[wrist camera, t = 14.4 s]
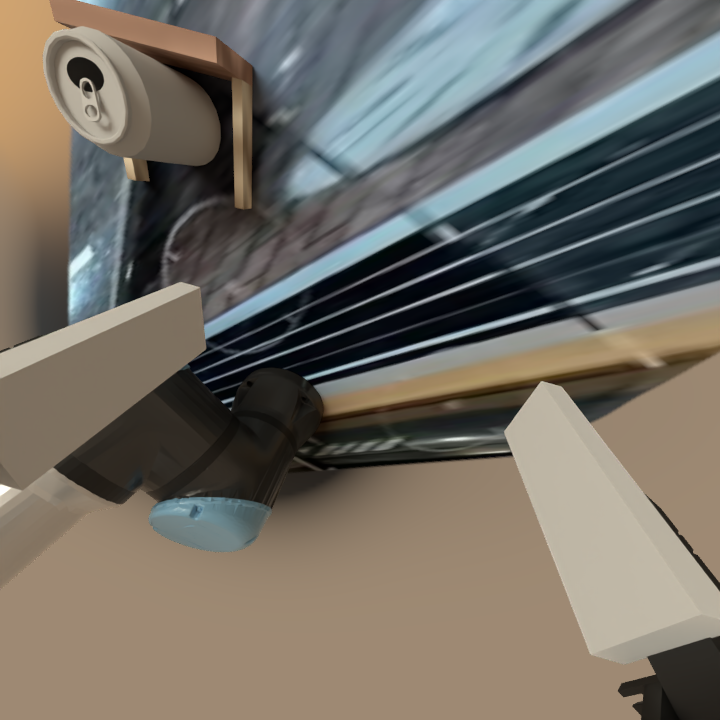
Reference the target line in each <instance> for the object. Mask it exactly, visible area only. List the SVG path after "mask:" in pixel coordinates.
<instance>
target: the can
mask: <svg viewBox="0 0 720 720" xmlns="http://www.w3.org/2000/svg"><path fill="white" fill-rule="evenodd" d="M43 66H44V75H45V78H46V82H47V85H48V89H49V91H50V93H51V95H52V97H53V99H54V101H55V103H56V105H57V107H58V109H59V110H60V112H61V113H62V114H63V116H64V117H65V119H66V120H67V122H68V123H69V124H70V125H71V126H72V127H73V128H74V129H75V130H76V131H77V132H78V133H79V134H80V135H82V136H83V137H85V138H86V139H88V140H90V141H91V142H93V143H95V144H96V145H97V146H99V147H100V148H102V149H104V150H105V151H107V152H108V153H110V154H113V155H117V156H121V157H125V158H134V159H142V160H150V161H159V162H167V163H175V164H184V165H192V166H200V165H205V164H207V163H208V162H210V161H211V160H213V158H214V157H215V155H216V153H217V152H218V149H219V145H220V140H221V130H220V122H219V118H218V115H217V111H216V109H215V107H214V105H213V103H212V101H211V99H210V97H209V95H208V94H207V93H206V92H205V91H204V89H203V88H202V87H201V86H200V85H199V84H198V83H196V82H195V81H194V80H192V79H191V78H189V77H188V76H186V75H184V74H182V73H180V72H178V71H176V70H174V69H172V68H170V67H168V66H166V65H164V64H162V63H161V62H159V61H157V60H155V59H153V58H151V57H149V56H147V55H145V54H143V53H141V52H139V51H137V50H135V49H133V48H132V47H130V46H128V45H126V44H124V43H122V42H120V41H118V40H116V39H114V38H112V37H110V36H108V35H106V34H104V33H103V32H101V31H99V30H95V29H92V28H88V27H84V26H80V27H77V28H73V29H70V30H67V29H63V30H60V31H56V32H54V33H53V34H52V35H51V36H50V37H49V39H48V40H47V41H46V44H45V48H44V53H43Z"/></svg>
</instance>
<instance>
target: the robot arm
mask: <svg viewBox="0 0 720 720" xmlns="http://www.w3.org/2000/svg"><path fill="white" fill-rule="evenodd" d="M204 350H206V343H205V332H204V322H203V312H202V302H201V292H200V287H196V286H193V285H189V284H186V283H182V282H180V283H177V284H175V285H172V286H170V287H167V288H164V289H162V290H159V291H157V292H154V293H152V294H149V295H147V296H144V297H142V298H139V299H137V300H134V301H132V302H129V303H126V304H124V305H121V306H119V307H116V308H114V309H111V310H109V311H106V312H104V313H101V314H99V315H96V316H93V317H91V318H88V319H86V320H83V321H81V322H78V323H76V324H73V325H71V326H68V327H66V328H63V329H61V330H58V331H55V332H53V333H51V334H46V335H41V336H37V337H35V338H32V339H30V340H27V341H25V342H22V343H19V344H17V345H14V347H13V348H7V349H4V350H1V351H0V589H2V588H3V587H4V586H5V585H6V584H7V583H9V582H10V581H11V580H12V579H13V578H14V577H15V576H17V575H18V574H19V573H20V572H21V571H23V570H24V569H25V568H26V567H27V566H28V565H29V564H31V563H32V562H33V561H34V560H35V559H36V558H37V557H39V556H40V555H41V554H42V553H43V552H44V551H45V550H47V549H48V548H49V547H50V546H51V545H52V544H54V543H55V542H56V541H57V540H58V539H59V538H60V537H62V536H63V535H64V534H65V533H66V532H67V531H69V530H70V529H71V528H72V527H73V526H74V525H75V524H77V523H78V522H79V521H80V520H81V519H82V518H84V517H85V516H86V515H87V514H89V513H91V512H94V511H99V510H105V509H110V508H116V507H119V506H121V505H122V504H123V503H125V502H126V501H127V500H128V499H129V498H130V497H131V496H132V495H133V494H134V493H135V492H137V491H138V490H140V489H141V490H143V491H144V492H146V493H147V494H148V495H150V496H151V497H153V498H154V499H155V500H156V501H157V502H158V503H157V504H156V505H155V506H153V508H152V509H151V513H150V516H149V523H150V525H151V526H153V529H154V530H155V531H156V532H157V533H159V534H161V535H162V536H164V537H165V538H167V539H169V540H172V541H174V542H177V543H179V544H182V545H185V546H188V547H192V548H196V549H200V550H206V551H213V552H232V551H238V550H241V549H244V548H246V547H248V546H249V545H251V544H252V543H253V542H254V541H255V540H256V539H257V537H258V536H259V533H260V532H261V530H262V528H263V526H264V524H265V522H266V520H267V518H268V517H269V516H270V514H271V512H272V507H273V505H274V503H275V500H276V498H277V496H278V493H279V491H280V488H281V486H282V484H283V482H284V479H285V477H286V474H287V472H288V470H289V468H290V465H291V463H292V461H293V458H294V456H295V454H296V452H297V450H298V449H299V448H300V447H301V446H302V445H303V444H304V443H305V442H306V441H307V440H308V439H309V438H310V437H311V436H312V435H313V434H314V433H315V431H316V430H317V428H318V426H319V424H320V421H321V419H322V416H323V404H322V400H321V398H320V396H319V394H318V392H317V391H316V390H315V388H314V387H313V386H312V385H311V384H310V383H309V382H308V381H306V380H305V379H304V378H302V377H301V376H299V375H297V374H295V373H293V372H291V371H288V370H284V369H280V368H263V369H259V370H256V371H254V372H253V373H251V374H250V375H249V376H248V377H247V378H246V379H245V380H244V381H243V382H242V383H241V385H240V386H239V388H238V390H237V393H236V396H235V399H234V402H233V405H232V409H231V411H230V410H229V409H228V408H227V407H226V406H225V405H224V404H223V403H222V402H221V401H220V400H219V399H218V398H217V397H216V396H215V395H214V394H213V393H212V392H211V391H210V390H209V389H208V388H207V387H206V386H205V385H204V384H203V383H202V382H201V381H200V380H199V378H198V377H197V376H196V375H195V374H194V373H193V372H192V371H191V370H190V369H189V368H190V366H189V365H187V363H189V362H190V361H191V360H193V359H194V358H195V357H197V356H198V355H199V354H200V353H202V352H203V351H204ZM504 433H505V436H506V438H507V441H508V443H509V446H510V449H511V451H512V454H513V456H514V459H515V461H516V464H517V467H518V469H519V472H520V474H521V477H522V479H523V482H524V484H525V487H526V490H527V492H528V495H529V497H530V500H531V502H532V505H533V508H534V510H535V513H536V515H537V518H538V521H539V523H540V526H541V528H542V531H543V534H544V536H545V539H546V541H547V544H548V547H549V549H550V552H551V554H552V557H553V559H554V562H555V565H556V567H557V570H558V572H559V575H560V577H561V580H562V583H563V585H564V588H565V590H566V593H567V595H568V598H569V601H570V603H571V606H572V608H573V611H574V614H575V616H576V619H577V621H578V624H579V626H580V629H581V631H582V634H583V637H584V639H585V642H586V644H587V647H588V649H589V652H590V655H593V656H597V657H600V658H604V659H607V660H611V661H614V662H618V663H621V664H628V663H631V662H635V661H638V660H641V659H645V658H648V659H649V661H650V663H651V665H652V667H653V669H654V671H655V673H656V675H652V676H648V677H644V678H641V679H637V680H633V681H629V682H625V683H622V684H621V686H620V688H619V690H618V692H619V693H620V694H621V695H622V696H623V697H627V696H632V695H636V694H641V693H642V694H643V701H642V702H637V703H635V704H633V707H634V708H635V710H636V711H637V712H638V713H639V714H640V715H641V720H720V583H719V582H718V580H717V579H716V578H715V577H714V575H713V574H712V573H711V572H710V570H709V569H708V568H707V566H706V565H705V564H704V563H703V561H702V560H701V559H700V557H699V556H698V555H696V554H694V553H693V549H692V547H691V546H690V545H689V544H688V542H687V541H686V540H685V538H684V537H683V536H682V535H679V534H678V530H677V528H676V527H675V526H674V525H673V523H672V522H671V521H670V519H669V518H668V517H667V516H666V514H665V513H664V512H663V511H662V509H661V508H660V507H659V506H657V505H656V504H655V503H654V502H653V501H652V500H651V499H650V498H649V497H648V496H647V495H646V494H644V492H642V490H641V489H640V488H639V487H638V485H637V484H636V482H634V480H633V479H632V477H631V476H630V475H629V473H628V472H627V471H626V469H625V468H624V467H623V466H622V464H621V463H620V462H619V460H618V459H617V458H616V457H615V455H614V454H613V453H612V451H611V450H610V449H609V447H608V446H607V445H606V444H605V442H604V441H603V440H602V438H601V437H600V436H599V435H598V433H597V432H596V431H595V429H594V428H593V427H592V425H591V424H590V423H589V422H588V420H587V419H586V418H585V416H584V415H583V414H582V412H581V411H580V410H579V409H578V407H577V406H576V405H575V403H574V402H573V401H572V400H571V398H570V397H569V396H568V394H567V393H566V392H565V390H564V389H563V388H562V387H561V386H557V385H553V384H550V383H546V382H543V381H541V382H540V384H539V385H538V386H537V388H536V389H535V390H534V392H533V393H532V394H531V396H530V397H529V399H528V400H527V401H526V403H525V404H524V405H523V407H522V408H521V409H520V411H519V412H518V414H517V415H516V416H515V418H514V419H513V420H512V422H511V423H510V424H509V426H508V427H507V428H506V430H505V431H504Z"/></svg>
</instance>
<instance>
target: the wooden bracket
mask: <svg viewBox="0 0 720 720" xmlns="http://www.w3.org/2000/svg"><path fill="white" fill-rule="evenodd" d="M50 4H51V8H52V12H53V16H54V20H55V21H56V22H58V23H60V24H62V25H65V26H67V27H69V28H71V29H73V28H77V27H80V26H84V27H88V28H92V29H95V30H99V31H101V32H103V33H104V34H106V35H108V36H110V37H112V38H114V39H116V40H118V41H120V42H122V43H124V44H126V45H128V46H130V47H132V48H133V49H135V50H137V51H139V52H141V53H143V54H145V55H147V56H149V57H151V58H153V59H155V60H157V61H159V62H161V63H164V64H168V65H172V66H176V67H179V68H183V69H187V70H191V71H195V72H198V73H202V74H206V75H210V76H214V77H217V78H221V79H225V80H229V81H232V104H233V146H234V189H235V207H236V208H240V209H252V65H251V64H249V63H248V62H247V61H246V60H244V59H243V58H242V57H241V56H239V55H238V54H237V53H236V52H234V51H233V50H232V49H230V48H229V47H228V46H227V45H225V44H224V43H223V42H222V41H220V40H219V39H218V38H217V37H215V36H211V35H207V34H203V33H199V32H195V31H191V30H188V29H184V28H180V27H176V26H172V25H168V24H165V23H161V22H157V21H153V20H149V19H145V18H142V17H138V16H134V15H130V14H126V13H122V12H119V11H115V10H111V9H107V8H103V7H99V6H95V5H92V4H88V3H84V2H80V1H76V0H50ZM124 162H125V167H126V172H127V177H128V179H132V180H136V181H150V180H149V174H148V168H147V162H146V160H142V159H134V158H125V157H124Z"/></svg>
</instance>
